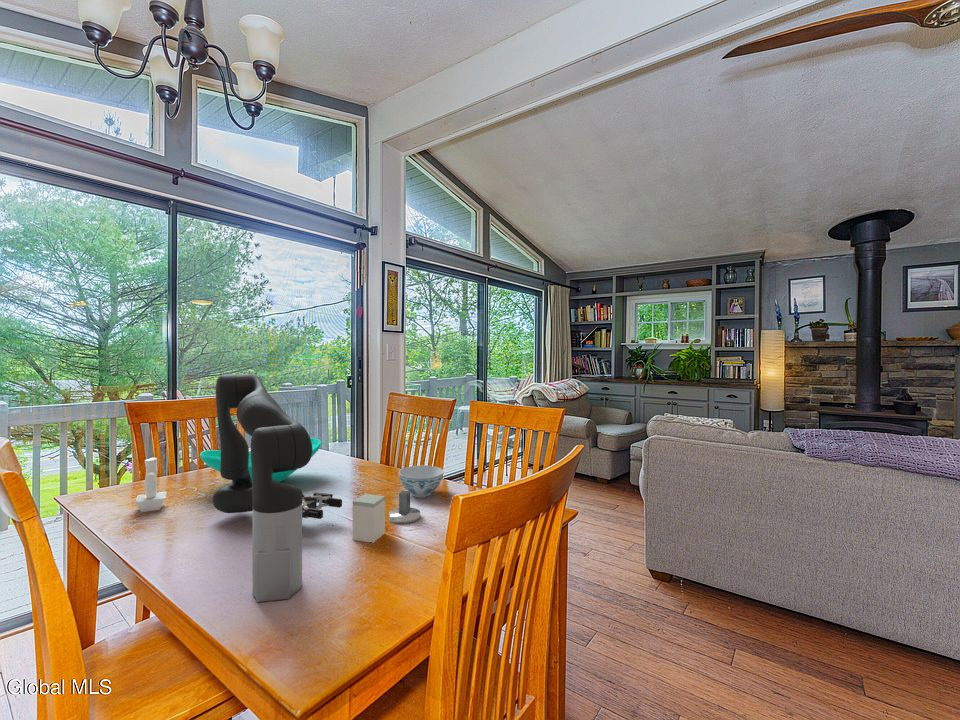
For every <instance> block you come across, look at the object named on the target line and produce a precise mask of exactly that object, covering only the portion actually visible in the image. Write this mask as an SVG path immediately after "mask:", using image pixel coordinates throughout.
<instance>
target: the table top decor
mask: <svg viewBox="0 0 960 720" xmlns="http://www.w3.org/2000/svg"><path fill="white" fill-rule="evenodd" d="M310 439H311V442H312V456H311V458H313V456H314V455H315V454H316V453H317V452H318V451H319V450H320V448H321V446H322V443H323V442H322V441H321V440H320V439H319V438H312V437H310ZM199 457H200V459H201V460H202V462H203V463H204V464H206V465H207V466H208V467H210V468H212V469H213V470H216V471H218V472H219V473H220V461H221V450H217V449H210V450H209V449H207V450H204V451H200V454H199ZM248 470H249V473H250V477H251V480H252V466H251V451H249V464H248ZM297 470H298V469H296V470H290V471H284V472H277V473H272V479H273V480H274V481H277V482H280V483H281V482H282V481H284V480H285V479H287V478H288V477H289V476H290V475H292V474H293V473H295V472H296V471H297Z"/></svg>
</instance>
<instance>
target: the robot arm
mask: <svg viewBox="0 0 960 720" xmlns="http://www.w3.org/2000/svg"><path fill="white" fill-rule="evenodd" d="M215 402H216V403H215V405H216V416H217V425H218V433H219V441H220V451H221V461H220V472H219V473H220V476H221V478H223V479H224V480H228V481H231V482H230V483H229V484H227V485H225V486H223V487H221V488H219V489H217V490H216V491H215V492H214V493H213V496H212V504H213V506H214V507H215V509H216V510H218V511H219V512H221V513H226V514H238V513H246V512H252V532H251V533H252V543H251V544H252V548H251V550H252V552H251V553H252V557H251V558H252V559H251V562H252V564H251V565H252V567H251V568H252V596H253V597H254V598H255V603H260V602H261V603H262V602H271V601H272V602H273V601H279V600H281V601H282V600H288V599H291V598H292V595H294V594H295V593H297V592H298V591H299V590H300V589H301V588H302V586H303V519H309V518H312V519H318V520H320V519H323V518H324V510H323V509H322V508H324V507H325V508H326V507H332V508H339V509H340V508H342V506H343V500H342V499H341V498H338V497H337V498H336V497H333V496H334V495H333V494H332V493H326V492H325V493H324V492H318V491H317V492H316V491H315V492H313V493H312V494H313V495H304V493H303V490H302V489H301V487H300V486H297V485H293V484H290V483H284V482H281V481H280V482H277V481H274V480H273V479H272V473H277V472H284V471H290V470H296V469H297V470H298V469H301V468H304V467H305V466H307V465H308V464H309V462H310V461H311V459H312V457H313V456H312V442H311V439H310V438H311V436H310V433H308V430H307V429H306V428H305V427H304V426H303V425H302V424H301V423H299V422H298V421H296V419H294V418H292V417H290V415H288V414H287V413H286V412H285V411H284V410H283V408H282V407H281V406H280V405H279V403H278V402H277V401H276V400H275V398H273V397H272V396H271V395H270V394H269V392H268V391H267V390H266V387H265V386H264V383H263V382H262V380H261V378H260V377H259V376H258V375H256V374H253V373H238V374H237V373H235V374H233V373H231V374H229V373H228V374H221V375H219V376H218V378H217V379H216V384H215ZM231 409H236V418H237V422H238V423H239V425H240V426H241V428H242V430H243V431H244V432H245V433H246V434H248V435H249V436H250V437H251V438H250V449H249V445H248V442H247V440H246V439H245V437H244V436H243V434H242V433H241V431H240V430H239V429H238V428H237V426H236V424H235V423H234V421H233V419H232V416H231ZM249 452H251V466H252V480H251V477H250V473H249V470H248V464H249ZM311 456H312V457H311ZM297 470H296V471H297ZM317 504H318V505H317Z"/></svg>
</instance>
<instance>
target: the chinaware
mask: <svg viewBox="0 0 960 720" xmlns="http://www.w3.org/2000/svg"><path fill="white" fill-rule="evenodd" d="M444 473H445V472H444V470H443V468H441V467H438V466H432V465H412V466H406V467H404V468H401V469H399V471H398V477H399V481H400V483H401V484H402V486H403V488H404V489H405V491H410V496H412V497H413V496H415V497H414V498H427V497H429V495H430V496H431V495H432V492H433V491H435V490H436V489H437V488H438V487H440V486H439V485H440V484H441V482H442V480H443V477H444ZM426 496H427V497H426Z"/></svg>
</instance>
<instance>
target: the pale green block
mask: <svg viewBox="0 0 960 720" xmlns="http://www.w3.org/2000/svg"><path fill="white" fill-rule="evenodd" d="M351 530H352V532H351V533H352V534H351V535H352V536H351V537H352V541H358V542H364V543H370V542H372V543H371V544H374V543H375V542H376V541H378V540H379V539H381V538H382V535H383V536H384V535H385V534H386V495H379V494H377V495H376V494H372V493H371V494H369V493H364V494H362V495H360V496H359V497H357V498H355V499H354V500H352V529H351ZM377 539H378V540H377Z"/></svg>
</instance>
